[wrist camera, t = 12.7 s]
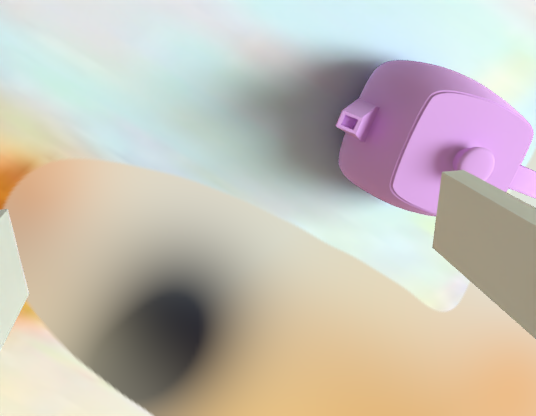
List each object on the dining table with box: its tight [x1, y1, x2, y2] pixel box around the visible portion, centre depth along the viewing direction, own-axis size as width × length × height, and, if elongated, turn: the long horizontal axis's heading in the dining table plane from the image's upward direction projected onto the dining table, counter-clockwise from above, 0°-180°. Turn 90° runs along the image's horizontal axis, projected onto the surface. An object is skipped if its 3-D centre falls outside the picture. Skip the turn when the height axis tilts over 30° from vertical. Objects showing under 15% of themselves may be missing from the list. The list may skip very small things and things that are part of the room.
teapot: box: [335, 60, 536, 216], centre depth 40 cm, size 20×12×13 cm, turn 70°
